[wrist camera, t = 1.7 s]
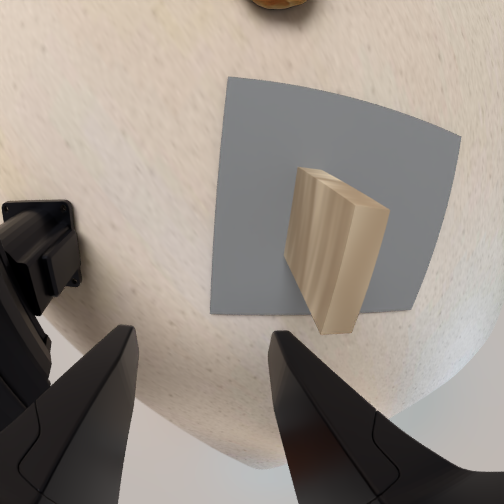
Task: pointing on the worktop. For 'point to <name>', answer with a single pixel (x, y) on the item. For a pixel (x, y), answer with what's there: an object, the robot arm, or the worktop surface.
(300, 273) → the tile
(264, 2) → the pastry
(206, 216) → the worktop surface
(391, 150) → the mat
